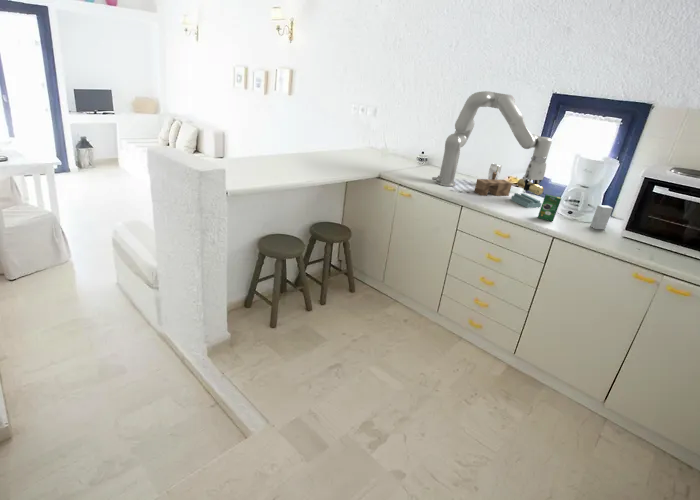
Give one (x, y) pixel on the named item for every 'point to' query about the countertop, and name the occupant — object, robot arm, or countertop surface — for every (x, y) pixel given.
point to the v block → (526, 200)
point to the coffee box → (549, 207)
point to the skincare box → (601, 217)
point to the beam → (492, 187)
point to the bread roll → (531, 187)
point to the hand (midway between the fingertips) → (529, 190)
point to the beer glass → (494, 171)
